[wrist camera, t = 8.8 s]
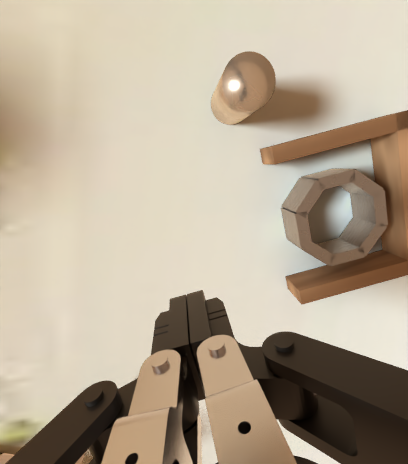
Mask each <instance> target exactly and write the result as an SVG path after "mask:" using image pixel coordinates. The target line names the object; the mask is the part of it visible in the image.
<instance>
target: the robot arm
mask: <svg viewBox="0 0 408 464" xmlns="http://www.w3.org/2000/svg"><path fill="white" fill-rule="evenodd" d="M154 329H155V330H154V336H153V344H152V351H151V356H150V357H148V358H147V359H146V360H145V361H144V363H143V364H142V366H141V369H140V372H139V376H138V378H137V379H135V380H134V381H132V382H130V383H129V384H127V385H125V386H123V387H121V388H119V389H117V386H116V384H115V383H114V382H112V381H101V382H98V383H95V384H93V385H91V386H90V387H88V388H87V389H85V390H84V391H83V392H82V393H81V394H80V395H78V396H77V397H76V398H75V399H74V400H73V401H72V402H71V403H70V404H69V405H68V406H67V407H66V408H64V409H63V410H62V411H61V412H60V413H59V414H58V415H57V416H56V417H55V418H54V419H53V420H52V421H50V422H49V423H48V424H47V425H46V426H45V427H44V428H43V429H42V430H41V431H40V432H39V433H38V434H36V435H35V436H34V437H33V438H32V439H31V440H30V441H29V442H28V443H27V444H26V445H25V446H24V447H23V448H21V449H20V450H19V451H18V452H17V453H16V454H15V455H14V456H13V457H12V458H11V459H10V460H9V461H7V462H6V463H5V464H75V463H76V462H77V461H78V460H79V459H80V457H81V456H82V455H83V454H84V453H85V452H86V451H87V450H88V448H89V450H90V452H91V454H92V456H93V459H92V460H91V462H90V463H89V464H202V442H201V418H200V415H199V402H198V401H199V400H203V399H205V402H206V407H207V411H208V416H209V421H210V426H211V430H212V435H213V440H214V445H215V449H216V454H217V459H218V463H216V464H317V463H315V462H313V461H310V460H308V459H305V458H302V457H298V456H293V454H292V452H291V450H290V448H289V446H288V444H287V441H286V439H285V437H284V435H283V433H282V431H281V429H280V427H279V424H278V422H277V420H276V419H279V422H280V423H281V425H282V426H283V427H284V428H285V429H287V430H288V431H290V432H291V433H293V434H294V435H296V436H297V437H299V438H301V439H302V440H304V441H305V442H307V443H309V444H310V445H312V446H313V447H315V448H317V449H318V450H320V451H321V452H323V453H325V454H326V455H328V456H329V457H331V458H333V459H334V460H336V461H337V462H339V463H341V464H408V370H405V369H402V368H399V367H396V366H393V365H390V364H387V363H384V362H381V361H378V360H375V359H372V358H369V357H366V356H363V355H360V354H357V353H354V352H351V351H348V350H345V349H342V348H339V347H336V346H333V345H330V344H327V343H324V342H321V341H318V340H315V339H312V338H309V337H306V336H303V335H300V334H297V333H293V332H278V333H275V334H273V335H271V336H269V337H268V338H267V339H266V340H265V341H264V342H263V345H262V347H248V346H244V345H242V344H240V343H238V342H237V341H236V340H235V338H234V335H233V332H232V329H231V326H230V322H229V319H228V316H227V313H226V310H225V307H224V304H223V302H222V301H221V300H219V299H218V298H213V299H209V300H205V296H204V293H203V290H201V291H197V292H193V293H190V294H187V296H186V295H183V296H179V297H175V298H172V299H170V308H169V311H166V312H162V313H161V314H160V315H159V316H158V318H157V319H156V321H155V328H154ZM205 394H206V397H205Z"/></svg>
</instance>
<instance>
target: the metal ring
mask: <svg viewBox="0 0 408 464" xmlns="http://www.w3.org/2000/svg"><path fill="white" fill-rule="evenodd" d="M336 186H340V187H342V188H343V189H345V190H346V191H347V192H349V193H350V196H351V204H352V212H353V218H352V219H351V221H350V222H349V224H348V225H347V227H346V228H345V230H344V231H343V232H342V234H341V235H340V237H339V238H336V239H333V240H329V241H325V242H321V243H318V244H315V243H314V242H312V240H311V234H310V228H309V221H308V215H307V214H308V213H309V211H310V210H311V208H312V207H313V205H314V204H315V202H316V201H317V199H318V198H319V196H320V195H321V193H322V192H323V190H325V189H329V188H333V187H336ZM383 189H384V188H382V187H381V186H379V185H378V184H376V183H375V182H374V181H372V180H371V179H369V178H368V177H366V176H365V175H363V174H362V173H361V172H359V171H358V170H356V169H329V170H325V171H321V172H318V173H314V174H310V175H306V176H302V177H301V178H299V180H298V181H297V183H296V184H295V186H294V187H293V189H292V191H291V192H290V194H289V195H288V197H287V198H286V200H285V201H284V203H283V204H282V207H283V208H281V211H282V216H283V222H284V227H285V232H286V238H287V240H289V241H290V242H292V243H293V244H295V245H296V246H298V247H299V248H300V249H302V250H304V251H305V252H307V253H309V254H310V255H312V256H314V257H315V258H317V259H319V260H320V261H322V262H324V263H325V264H327V265H329V266H334V265H338V264H341V263H345V262H349V261H353V260H356V259H360V258H364V255H365V256H367V254H368V253H369V252H370V250H371V249H372V247H373V246H374V245H375V243H376V242H377V240H378V239H379V238H380V236H381V235H382V233H383V232H384V231H385V229H386V228H387V226H386V225H388V220H387V209H386V199H385V190H383Z"/></svg>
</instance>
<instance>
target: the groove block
mask: <svg viewBox="0 0 408 464" xmlns="http://www.w3.org/2000/svg"><path fill="white" fill-rule="evenodd" d="M367 139H370V140H371V149H372V158H373V168H374V177H375V183H376V184H378V185H379V186H381V187H382V188H384V189H383V190H385V199H386V209H387V220H388V225H386V226H387V228H386V229H385V231H384V232H383V233H382V235H381V241H382V250H380V251H376V252H373V253H369V254H367V256H365V255H364V258H360V259H356V260H353V261H349V262H345V263H341V264H338V265H334V266H329V265H326V266H322V267H318V268H315V269H311V270H308V271H304V272H300V273H297V274H293V275H289V276H286V281H287V286H288V289H289V290H290V291H291V293H292V294H293V295H294V296H295V297H296V298H297V299H298V301H299V302H300V303H301V304H305V303H309V302H313V301H316V300H320V299H323V298H327V297H330V296H334V295H338V294H341V293H345V292H348V291H352V290H355V289H359V288H363V287H366V286H370V285H373V284H377V283H381V282H384V281H388V280H391V279H395V278H398V277H402V276H406V275H408V110H407V111H403V112H399V113H394V114H390V115H386V116H382V117H378V118H375V119H371V120H367V121H363V122H360V123H356V124H352V125H348V126H345V127H341V128H337V129H333V130H330V131H326V132H322V133H318V134H315V135H311V136H307V137H303V138H300V139H296V140H292V141H289V142H285V143H281V144H277V145H274V146H270V147H266V148H262V149H260V152H261V157H262V162H263V164H277V163H281V162H285V161H289V160H292V159H296V158H300V157H303V156H307V155H311V154H315V153H318V152H322V151H326V150H330V149H333V148H337V147H341V146H344V145H348V144H352V143H356V142H359V141H363V140H367Z"/></svg>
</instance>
